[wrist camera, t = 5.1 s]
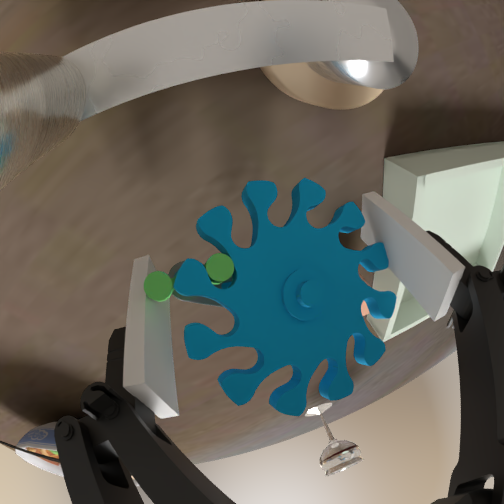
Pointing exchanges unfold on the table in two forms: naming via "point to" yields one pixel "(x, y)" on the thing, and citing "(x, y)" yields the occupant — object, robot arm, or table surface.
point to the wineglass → (335, 447)
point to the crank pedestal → (317, 87)
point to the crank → (196, 62)
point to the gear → (283, 296)
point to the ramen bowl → (41, 449)
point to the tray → (444, 213)
